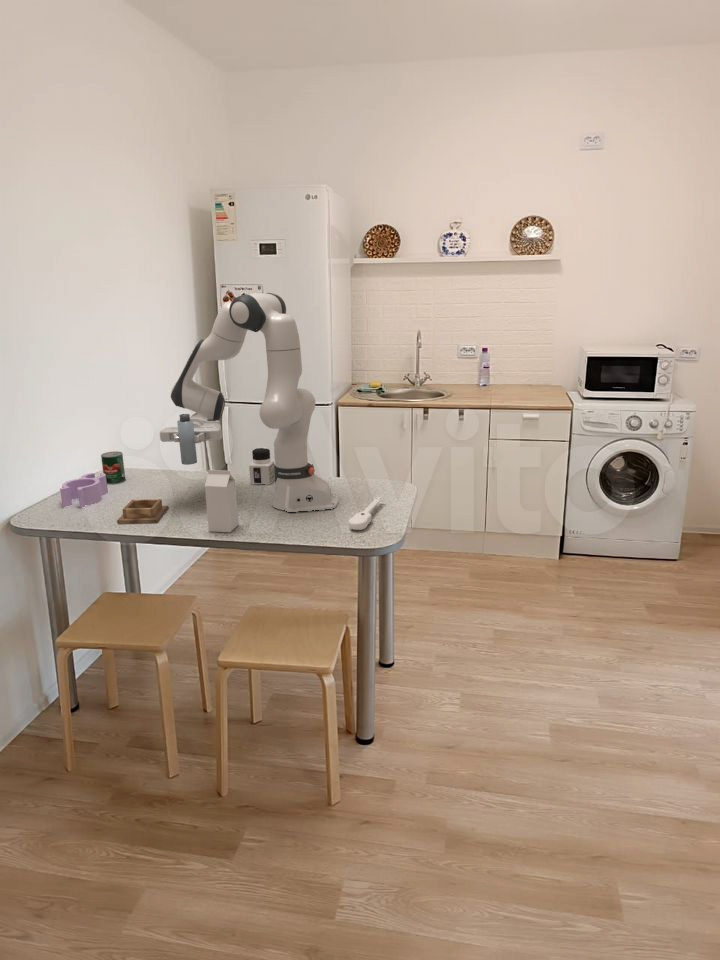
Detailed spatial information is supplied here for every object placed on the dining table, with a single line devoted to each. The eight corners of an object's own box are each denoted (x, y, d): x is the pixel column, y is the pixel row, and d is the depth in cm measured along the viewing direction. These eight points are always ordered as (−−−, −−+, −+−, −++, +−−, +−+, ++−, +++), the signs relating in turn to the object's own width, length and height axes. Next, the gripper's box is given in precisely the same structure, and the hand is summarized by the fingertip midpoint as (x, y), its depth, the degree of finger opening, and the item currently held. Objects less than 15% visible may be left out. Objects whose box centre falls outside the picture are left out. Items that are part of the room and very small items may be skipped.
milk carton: (230, 533, 220) (225, 474, 215) (208, 531, 222) (203, 473, 216) (238, 525, 227) (234, 467, 221) (217, 523, 228) (212, 466, 223)
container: (270, 485, 267) (267, 451, 263) (250, 484, 268) (247, 451, 264) (275, 479, 274) (273, 446, 270) (256, 478, 275) (254, 446, 272)
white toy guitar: (372, 504, 244) (372, 496, 244) (388, 505, 243) (388, 497, 242) (345, 531, 219) (345, 522, 218) (363, 532, 217) (363, 523, 216)
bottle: (198, 460, 237) (193, 413, 232) (195, 464, 232) (190, 416, 227) (183, 460, 237) (178, 413, 232) (180, 464, 232) (174, 416, 227)
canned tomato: (106, 485, 271) (102, 457, 268) (102, 480, 278) (99, 453, 274) (127, 482, 275) (124, 454, 271) (123, 477, 281) (120, 450, 278)
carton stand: (168, 508, 244) (167, 497, 242) (157, 523, 230) (156, 510, 229) (130, 509, 244) (129, 497, 242) (117, 524, 230) (115, 511, 229)
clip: (85, 490, 266) (82, 472, 264) (116, 491, 265) (114, 473, 263) (56, 508, 248) (53, 489, 246) (89, 509, 246) (86, 489, 244)
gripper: (164, 421, 244) (153, 430, 230) (224, 420, 244) (216, 429, 230) (166, 439, 246) (155, 449, 232) (225, 438, 245) (218, 448, 232)
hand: (186, 439), depth 231 cm, fingers closed on bottle, 5 cm apart
